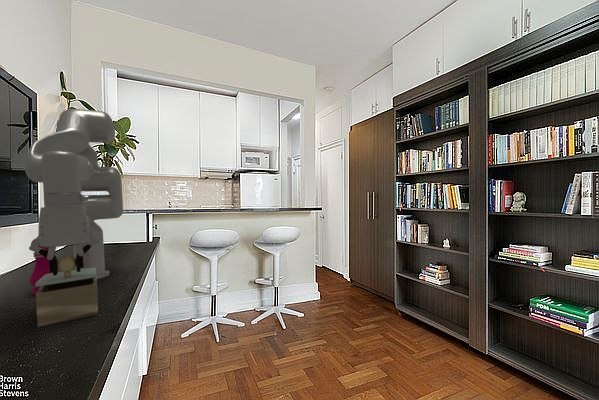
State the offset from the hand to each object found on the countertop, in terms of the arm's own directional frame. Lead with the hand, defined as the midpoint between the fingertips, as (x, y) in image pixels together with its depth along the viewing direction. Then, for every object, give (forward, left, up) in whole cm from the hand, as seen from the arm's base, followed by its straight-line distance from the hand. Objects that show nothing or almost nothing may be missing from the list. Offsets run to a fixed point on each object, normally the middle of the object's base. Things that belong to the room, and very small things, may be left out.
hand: (67, 272), depth 76 cm
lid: (-7, 0, -3) cm, 7 cm away
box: (-7, 0, -12) cm, 14 cm away
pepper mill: (-32, -8, -12) cm, 35 cm away
